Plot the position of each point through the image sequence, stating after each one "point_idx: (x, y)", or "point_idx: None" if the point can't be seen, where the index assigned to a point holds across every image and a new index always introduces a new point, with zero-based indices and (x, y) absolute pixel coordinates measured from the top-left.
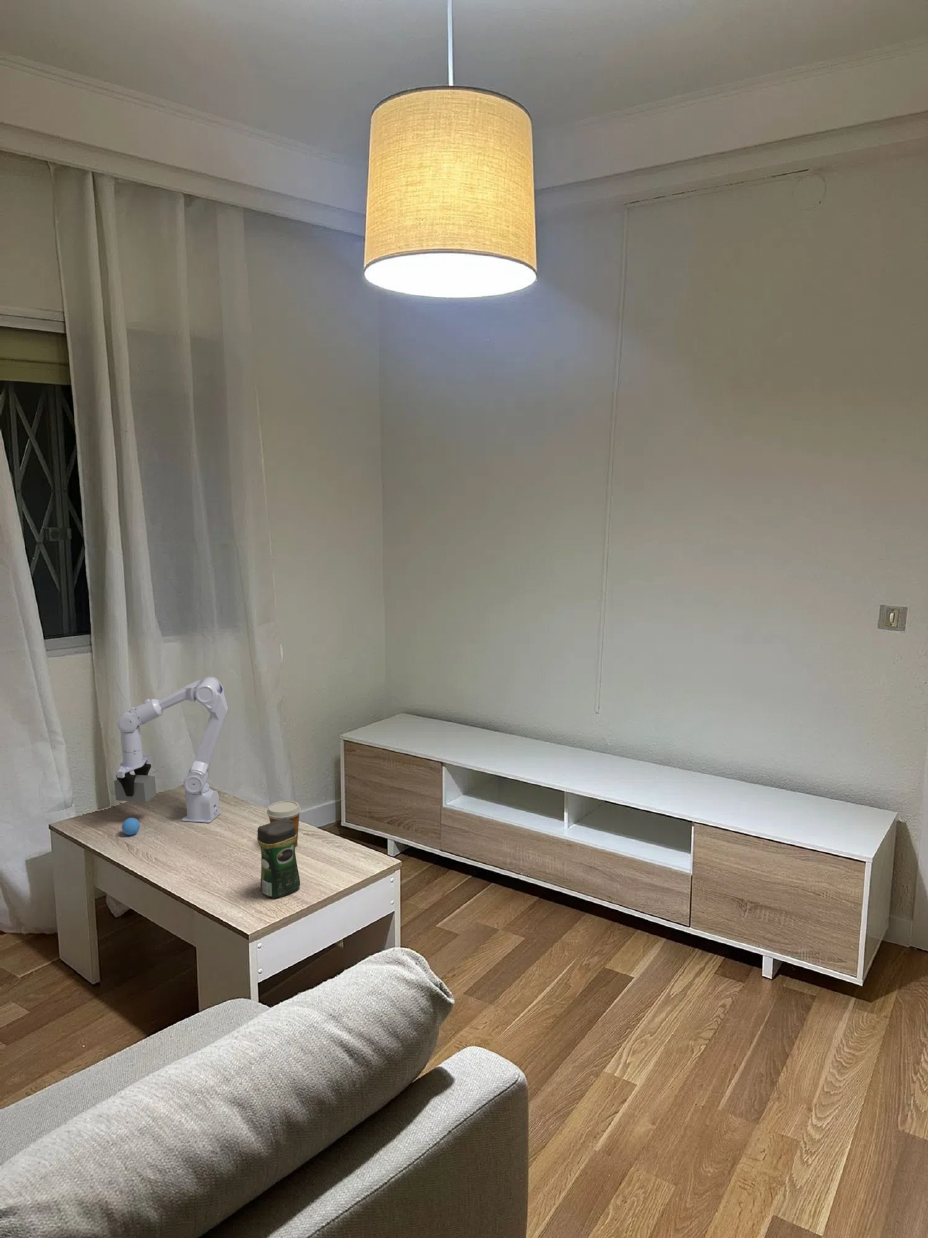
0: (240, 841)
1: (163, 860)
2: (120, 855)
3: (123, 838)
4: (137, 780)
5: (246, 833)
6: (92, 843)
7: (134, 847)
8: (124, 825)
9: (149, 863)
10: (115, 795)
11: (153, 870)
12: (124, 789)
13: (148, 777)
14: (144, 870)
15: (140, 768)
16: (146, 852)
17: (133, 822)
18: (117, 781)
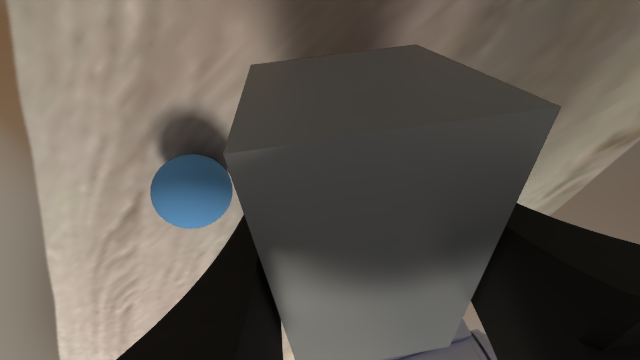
0: (287, 356)
1: (133, 322)
2: (61, 241)
3: (157, 166)
4: (337, 331)
5: None
6: (18, 74)
7: (133, 239)
8: (151, 199)
9: (98, 313)
10: (247, 77)
11: (82, 334)
12: (241, 231)
13: (417, 341)
14: (64, 324)
15: (544, 354)
16: (135, 278)
17: (182, 227)
18: (241, 203)
